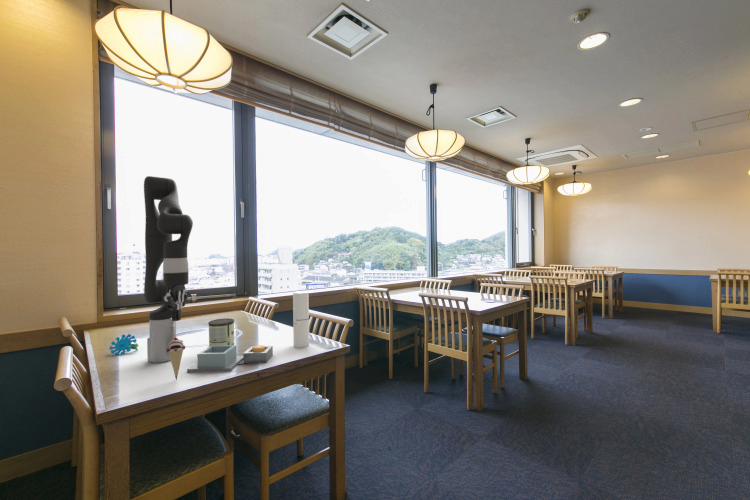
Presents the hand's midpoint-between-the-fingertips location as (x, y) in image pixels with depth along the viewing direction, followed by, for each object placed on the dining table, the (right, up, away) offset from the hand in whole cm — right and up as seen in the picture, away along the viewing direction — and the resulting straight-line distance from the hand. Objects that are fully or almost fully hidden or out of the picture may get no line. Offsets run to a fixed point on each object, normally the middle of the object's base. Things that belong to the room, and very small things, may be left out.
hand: (176, 320), depth 113 cm
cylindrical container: (+35, -20, +39) cm, 56 cm away
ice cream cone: (0, -21, 0) cm, 21 cm away
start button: (+21, -19, +21) cm, 35 cm away
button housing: (+21, -21, +21) cm, 36 cm away
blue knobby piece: (-42, -21, +30) cm, 56 cm away
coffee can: (+2, -21, +29) cm, 36 cm away
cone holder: (+7, -21, +14) cm, 26 cm away
